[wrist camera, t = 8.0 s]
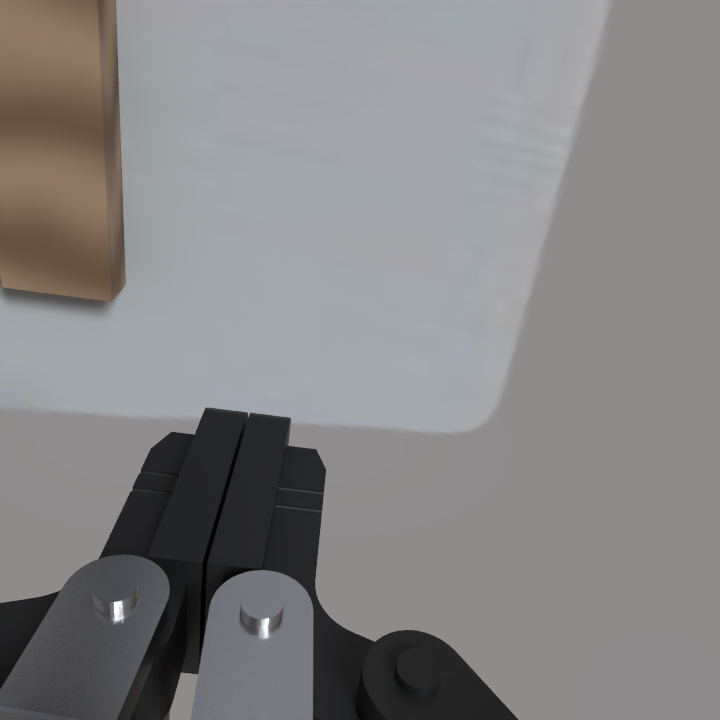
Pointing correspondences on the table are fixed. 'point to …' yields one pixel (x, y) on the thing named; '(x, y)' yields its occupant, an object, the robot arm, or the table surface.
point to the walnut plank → (60, 149)
